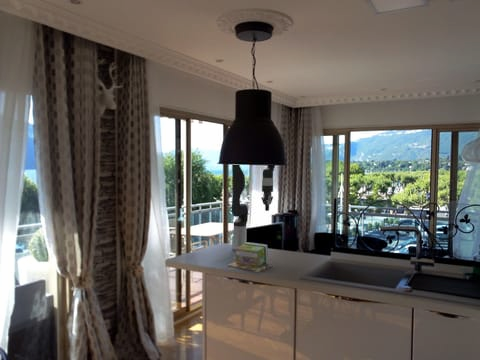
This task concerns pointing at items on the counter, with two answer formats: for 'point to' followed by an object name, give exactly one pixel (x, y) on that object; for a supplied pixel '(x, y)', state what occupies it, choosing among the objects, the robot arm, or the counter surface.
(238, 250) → the tea box
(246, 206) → the robot arm
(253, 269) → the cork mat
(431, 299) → the counter surface
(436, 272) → the counter surface
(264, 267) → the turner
